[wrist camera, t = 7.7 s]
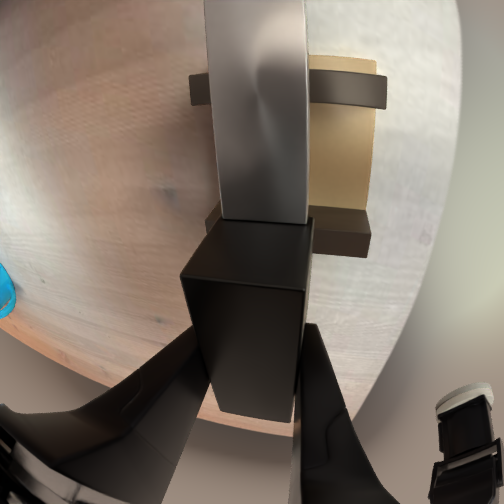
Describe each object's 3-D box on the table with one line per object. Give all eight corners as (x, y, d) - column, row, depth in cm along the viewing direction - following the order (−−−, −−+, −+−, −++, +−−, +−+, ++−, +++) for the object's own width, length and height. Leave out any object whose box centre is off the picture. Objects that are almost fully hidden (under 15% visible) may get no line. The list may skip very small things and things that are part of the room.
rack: (215, 60, 13) (186, 58, 10) (373, 61, 11) (387, 57, 8) (229, 225, 18) (209, 256, 16) (359, 235, 17) (364, 272, 14)
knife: (301, 359, 12) (290, 424, 10) (240, 351, 13) (219, 411, 10) (311, -28, 4) (300, -86, 2) (203, -18, 5) (137, -52, 2)
